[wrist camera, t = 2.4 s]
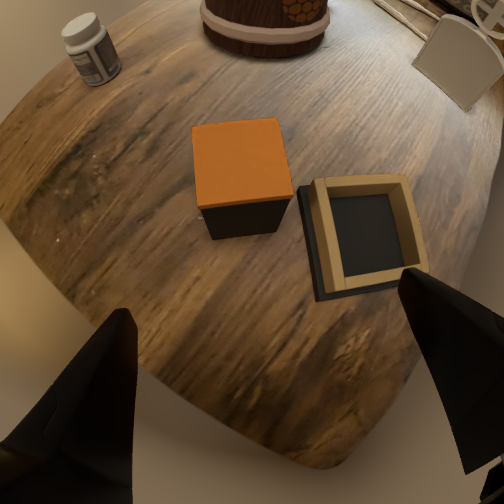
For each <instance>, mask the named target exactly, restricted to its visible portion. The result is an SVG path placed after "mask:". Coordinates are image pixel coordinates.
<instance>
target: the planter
mask: <svg viewBox="0 0 504 504" xmlns="http://www.w3.org/2000/svg"><path fill="white" fill-rule="evenodd" d="M438 1H440V2H441V3H442V4H443V5H445V6H446V7H448V8H449V9H451V10H452V11H454V12H456V13H458V14H460V15H463V16H466V17H469V18H474V17H473V15H472V11H471V2H472V0H438ZM483 1H484V2H485V3H486V4H488V5H489V6H490V7H491V8H492V9H493V8H494V7H495V5H496V4H497V2H498V1H499V0H483ZM477 12H478V15H479V17H480V19H481V21H482V22H484V21H485V19H486V18H487V16H488V15H489V14H488V13H487V12H486V11H485V10H483V9H482V8H481V7H480V6H479V5H477Z"/></svg>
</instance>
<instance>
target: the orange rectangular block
mask: <svg viewBox="0 0 504 504" xmlns="http://www.w3.org/2000/svg"><path fill="white" fill-rule="evenodd" d="M192 141H193V157H194V171H195V184H196V196H197V206H198V208H199V209H200V210H201V213H202V215H203V218H204V220H205V223H206V225H207V228H208V230H209V233H210V235H211V237H212V240H217V239H224V238H232V237H240V236H247V235H255V234H263V233H271V232H276V231H277V229H278V226H279V224H280V222H281V220H282V217H283V215H284V213H285V211H286V208H287V206H288V204H289V202H290V199H291V198H293V196H294V191H293V186H292V181H291V176H290V171H289V166H288V162H287V157H286V152H285V148H284V143H283V139H282V134H281V130H280V126H279V121H278V118H265V119H252V120H241V121H232V122H223V123H215V124H207V125H200V126H193V127H192Z"/></svg>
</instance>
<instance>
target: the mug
mask: <svg viewBox="0 0 504 504" xmlns="http://www.w3.org/2000/svg"><path fill="white" fill-rule="evenodd" d="M327 2H328V0H202V2H201V5H200V14H201V19H202V20H203V27H204V32H205V34H206V35H207V36H208V37H209V38H210V39H211V41H212V42H213V43H215V44H217V45H219V46H221V47H223V48H225V49H227V50H229V51H232V52H236V53H239V54H243V55H247V56H253V57H263V58H276V57H288V56H292V55H296V54H300V53H304V52H308V51H309V50H311V49H313V48H314V47H316V46H318V45H319V44H320V42H321V40H322V39H323V37H324V33H325V30H326V28H327V27H328V25H329V23H330V14H329V8H328V6H327Z"/></svg>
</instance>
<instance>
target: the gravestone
mask: <svg viewBox="0 0 504 504" xmlns="http://www.w3.org/2000/svg"><path fill="white" fill-rule="evenodd" d="M477 5H479V6H480V7H481V8H482V9H483V10H485V11H486V12H487V13H488V14H489V15H488V16H487V18H486V19H485V21H484V22H482V21H481V19H480V17H479V15H478V12H477ZM471 11H472V15H473V17H474V19H475V21H476V23H477V24H478V25H479V28H478V27H477V26H475V25H474V24H472V23H471V22H469V21H467V20H466V19H464V18H461V17H459V16H456V15H450V14H445V15H444V16H442V17H441V18H440V20H439V22H438V23H437V25H436V26H435V28H434V30H433V31H432V33H431V34H430V36H429V38H428V39H427V41H426V42H425V44H424V46H423V47H422V49H421V50H420V52H419V54H418V55H417V57H416V58H415V60H414V61H413V63H412V65H413V66H414V67H415V68H417V69H418V70H419V71H420V72H422V73H423V74H424V75H425V76H426V77H428V78H429V79H430V80H431V81H432V82H433V83H435V84H436V85H437V86H438V87H439V88H440V89H441V90H443V91H444V92H445V93H446V94H447V95H448V96H449V97H450V98H451V99H452V100H453V101H454V102H455V103H456V104H457V105H458V106H459V107H460V108H461V109H462V110H463V111H464V112H466V111H467V110H468V109H469V108H470V107H471V106H472V105H474V104H475V103H476V102H477V101H478V100H479V99H480V98H481V96H482V95H483V94H484V93H485V92H486V91H487V90H488V89H489V88H490V87H491V86H492V85H493V84H494V83H495V82H496V81H497V80H498V79H499V78H500V77H501V76H502V75H503V74H504V59H503V56H502V55H501V53H500V51H499V49H498V48H497V46H496V45H495V44H494V42H493V41H492V40H491V39H490V38H489V37H488V35H490V36H492V37H494V38H497V39H501V40H504V33H497V32H495V31H493V30H492V28H493V27H494V26H495V24H496V23H497V22H499V23H500V24H501V25H502V26H503V27H504V18H503V17H501V16H502V15H503V14H504V0H499V1H498V2H497V4H496V5H495V7H494V8H493V9H492V8H491V7H490V6H489V5H488V4H486V3H485V2H484V1H483V0H472V2H471Z"/></svg>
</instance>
